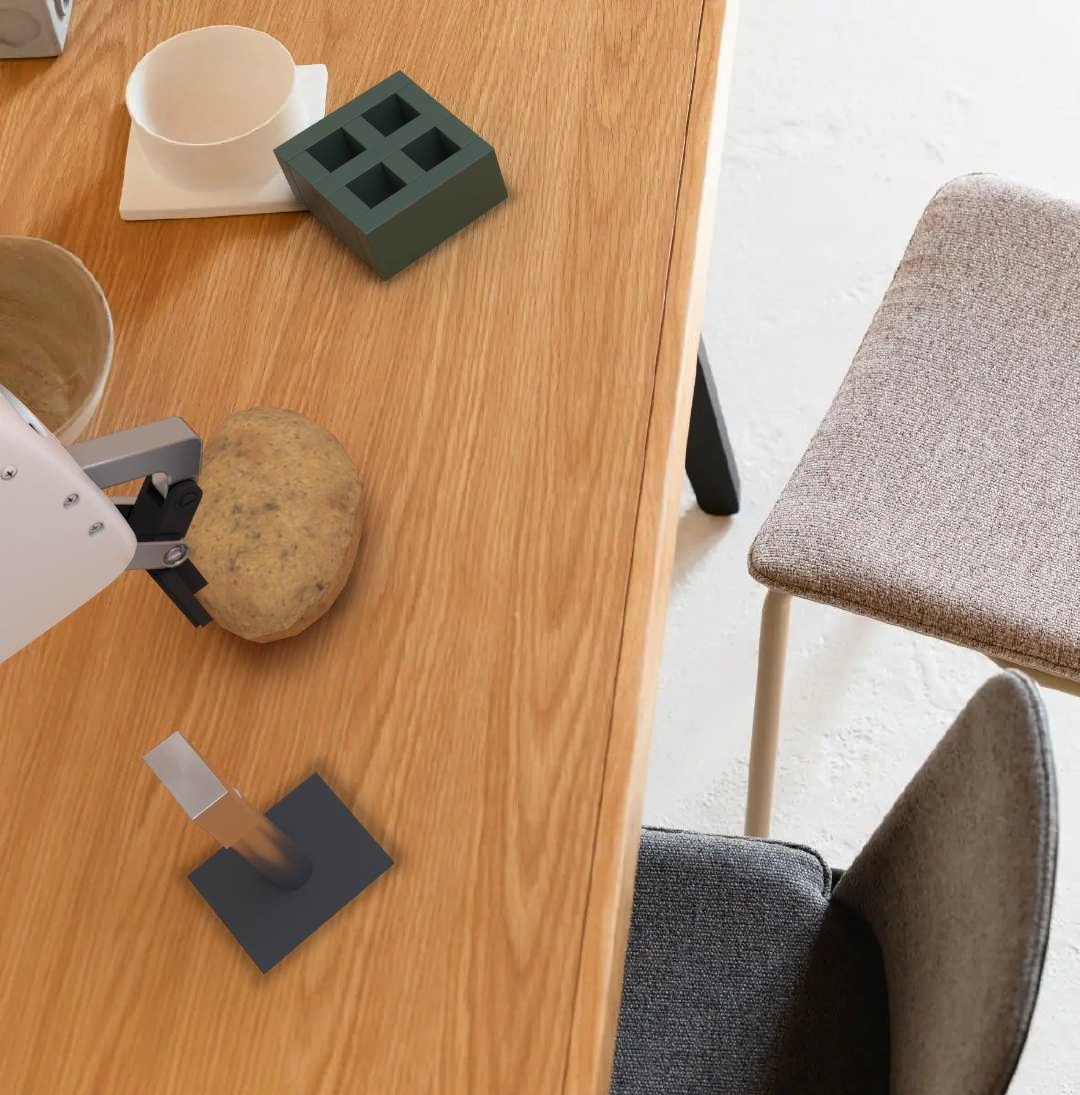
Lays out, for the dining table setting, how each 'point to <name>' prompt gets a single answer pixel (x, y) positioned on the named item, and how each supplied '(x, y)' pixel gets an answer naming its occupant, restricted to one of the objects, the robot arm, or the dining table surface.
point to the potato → (274, 523)
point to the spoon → (227, 812)
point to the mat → (293, 915)
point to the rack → (392, 174)
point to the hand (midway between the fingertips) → (76, 681)
